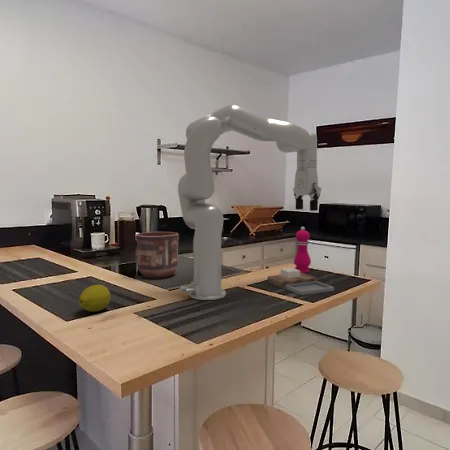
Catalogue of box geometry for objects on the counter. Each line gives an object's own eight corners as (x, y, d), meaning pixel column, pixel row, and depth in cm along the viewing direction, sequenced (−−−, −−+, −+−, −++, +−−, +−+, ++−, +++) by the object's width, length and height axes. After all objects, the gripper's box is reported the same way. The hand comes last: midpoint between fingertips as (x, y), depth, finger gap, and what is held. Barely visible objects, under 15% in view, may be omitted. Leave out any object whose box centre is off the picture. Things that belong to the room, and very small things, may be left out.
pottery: (175, 280, 151) (175, 236, 150) (132, 280, 152) (131, 236, 150) (181, 271, 169) (181, 231, 168) (142, 271, 169) (142, 231, 168)
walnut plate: (281, 288, 139) (281, 281, 138) (267, 282, 148) (267, 276, 147) (317, 284, 145) (317, 277, 145) (301, 278, 154) (301, 272, 154)
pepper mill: (291, 272, 166) (292, 227, 164) (296, 269, 172) (297, 225, 170) (308, 273, 163) (308, 227, 161) (312, 270, 169) (313, 226, 167)
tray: (301, 295, 129) (301, 291, 129) (285, 289, 138) (285, 284, 138) (334, 291, 135) (334, 287, 134) (316, 284, 144) (316, 281, 144)
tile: (288, 278, 144) (288, 271, 144) (280, 275, 149) (280, 269, 149) (300, 277, 146) (300, 270, 146) (292, 274, 151) (292, 268, 151)
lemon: (102, 304, 120) (101, 280, 119) (118, 309, 116) (117, 283, 115) (71, 313, 111) (70, 287, 111) (86, 319, 107) (85, 291, 106)
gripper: (286, 167, 153) (286, 209, 154) (311, 164, 137) (311, 211, 139) (302, 167, 156) (301, 208, 157) (328, 164, 140) (328, 210, 141)
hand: (306, 209), depth 148 cm, fingers open, 9 cm apart
